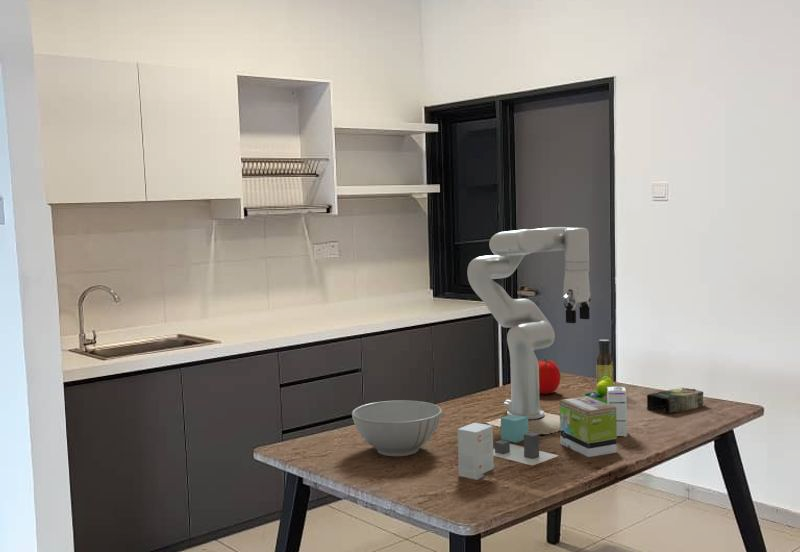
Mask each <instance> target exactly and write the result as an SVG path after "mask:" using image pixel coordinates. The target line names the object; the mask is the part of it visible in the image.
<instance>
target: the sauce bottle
mask: <svg viewBox="0 0 800 552" xmlns="http://www.w3.org/2000/svg"><path fill="white" fill-rule="evenodd" d="M610 344H611V340H609V339H599V340H598V345H599V347H598V348H599V350H598V351H599V353H598V354H597V355H596V361H595V362H596V365H595V367H596V368H595V369H596V385H597V384H598V383H599V382H600V381H601V380H602V378H603V377H604V376H607V377H610V379H611V380H612V387H615V384H614V379H615V378H614V359H613V356H612V354H611V353H610ZM597 391H598V389H596V392H597Z"/></svg>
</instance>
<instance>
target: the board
mask: <svg viewBox="0 0 800 552" xmlns="http://www.w3.org/2000/svg"><path fill="white" fill-rule="evenodd" d="M510 442H511V441H506V440H502V439H500V440H498V441H494V448H493V457H498V458H501V459H506V460H509V461H514V462H518V463H521V464H525V465H528V466H536V465H538V464H540V463H543V462H546V461H549V460H552V459H554V458H557V457H559V456H560V455H559V454H555V453H554V454H553V453H550V452H546V451H541V450H539V457H537V458H534V459H530V458H526V457H524V446H521V445H517V444H513V443H510Z"/></svg>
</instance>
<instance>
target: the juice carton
mask: <svg viewBox="0 0 800 552" xmlns="http://www.w3.org/2000/svg"><path fill="white" fill-rule="evenodd" d="M646 400H647V403H646V405H647V406H646V409H647V411H649V410H652V408H653V409H656V408H660V406H661V407H664V406H665V408H664V411H663V412H664V413H666V414H673V413H676V414H677V413H681V412H686V411H689V410H693V409H697V408H702V407H704V402H705V401H704V391H702V390H698V389H696V388H687V387H678V388H673V389H667V390H663V391H659V392H655V393H649V394H647V395H646Z"/></svg>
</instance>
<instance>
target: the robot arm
mask: <svg viewBox="0 0 800 552" xmlns="http://www.w3.org/2000/svg"><path fill="white" fill-rule="evenodd" d="M589 234H590V233H589V230H588V229H587V228H586V227H568V226H556V227H555V226H554V227H542V228H534V229H533V228H532V229H527V228H524V229H518V230H517V229H516V230H508V231H507V230H506V231H500V232H497V233H495V234H494V235H493V236H491V238H490V240H489V242H488V243H489V244H488V245H489V249H490V251H491V252H492V253H493V255H492V254H491V255H490V254H489V255H482V256H481V255H480V256H477V257H475V258H473V259H472V260H471V261H470V262H469V264H468V266H467V271H466V272H467V274H466V275H467V280H468V282H469V285H470V287H471V289H472V290H473V291H474V292H475V294H476V295H477V297H479V298H480V299H481V301H482V302H483V303H484V304H485V306H486V307H487V310H488V311H489V312H490V313H491V315H492V316H493V318H494V319H495V320H496V322H497V323H498V324H499V325H500V326H501V327H502V328H507V329H508V328H509V330H508V332H507V335H506V336H507V337H506V341H507V346H508V350H509V361H510V362H509V363H510V396H511V397H510V399H506V400H505V401H504V402H503V406H504V407H508V410H507V411H506V416H508V415H512V414H515V415H519V416H524V417H528V420H535V419H540V418H543V417H544V416H545V411H544V410H542V409H540V393H539V364H538V361H539V359H538V358H537V355H536V354H535V351H536V350H537V351H538V350H541V349H542V350H543V349H546V348H549V347H550V346H552V345H553V344H554V342H555V338H556V334H555V329H554V328H553V326H552V324H551V322H550V321H549V320H548V318H547V317H546V316H545V314H544V313H543V312H542V311H541V309H540V308H539V306H537V304H536V303H535V302H534V301H532V300H530V299H528V298H512V297H511V296H510V295H509V294H508V293H507V291H506V290H505V289H504V287H502V286H501V285H500V284H499V283H497V282H496V281H494V280H496V279H505V278H509V277H511V276H512V275H513V274H514V272H515V271H516V270H517V268H518V267H519V265H520V263H521V262H522V261H523V259H524V257H525V256H526V255H530V254H532V253H545V252H556V251H557V252H558V251H564V278H563V289H562V291H563V298H562V300H563V301H562V302H563V303H564V310H565V322H566V324H576V323H577V310H575V309H576V306H577V305H578V304H579V305H580V306H579V319H580V320H589V319H590V315H591V314H590V307H591V303H590V302H591V296H592V292H591V287H590V277H589V272H590V235H589Z"/></svg>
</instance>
